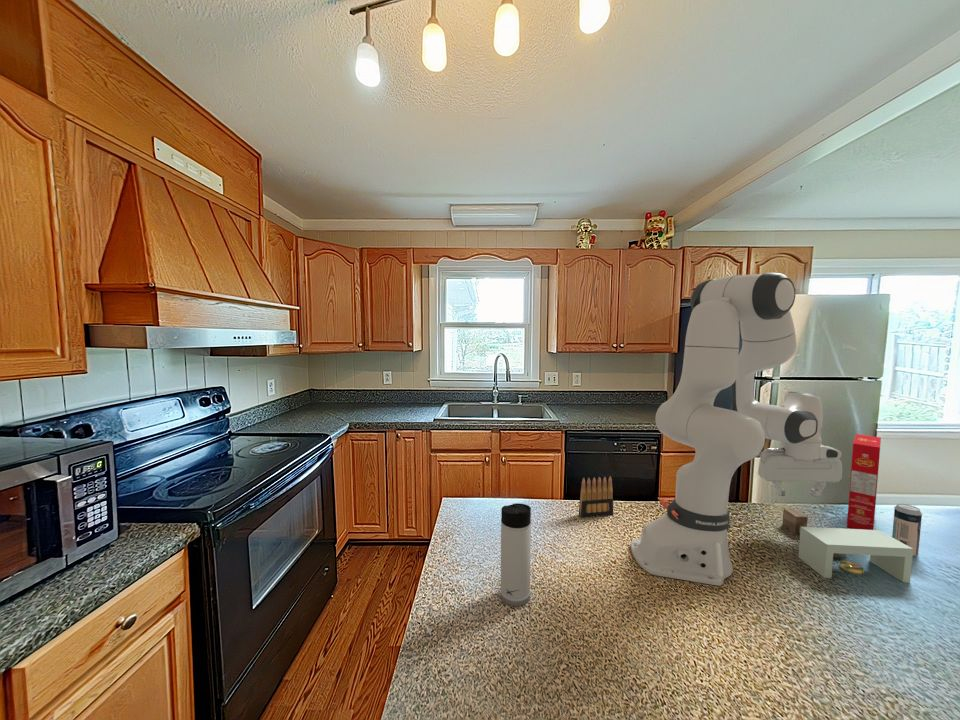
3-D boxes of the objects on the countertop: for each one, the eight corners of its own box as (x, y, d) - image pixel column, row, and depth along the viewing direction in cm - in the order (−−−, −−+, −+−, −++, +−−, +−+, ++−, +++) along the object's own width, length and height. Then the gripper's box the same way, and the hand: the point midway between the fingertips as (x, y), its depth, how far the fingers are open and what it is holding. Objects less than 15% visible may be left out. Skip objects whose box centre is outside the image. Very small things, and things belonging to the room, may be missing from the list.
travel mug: (511, 612, 76) (512, 516, 75) (495, 592, 82) (495, 502, 80) (536, 601, 79) (538, 509, 77) (519, 583, 85) (520, 496, 83)
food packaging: (850, 511, 119) (856, 434, 118) (874, 517, 116) (881, 437, 114) (846, 527, 109) (853, 443, 108) (872, 535, 106) (880, 447, 104)
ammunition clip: (581, 517, 115) (582, 479, 114) (578, 514, 117) (579, 476, 116) (613, 514, 117) (614, 476, 116) (610, 511, 119) (611, 474, 118)
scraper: (820, 556, 95) (822, 537, 95) (777, 524, 111) (778, 507, 111) (846, 557, 95) (848, 538, 94) (798, 525, 111) (799, 508, 110)
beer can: (924, 558, 94) (928, 512, 94) (901, 556, 95) (905, 510, 95) (907, 548, 99) (910, 503, 98) (885, 545, 100) (889, 502, 99)
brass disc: (849, 575, 88) (849, 570, 88) (835, 564, 92) (835, 560, 92) (868, 576, 88) (868, 571, 88) (852, 565, 92) (853, 561, 92)
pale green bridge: (824, 577, 87) (826, 544, 86) (798, 557, 95) (800, 526, 94) (910, 582, 85) (913, 548, 85) (876, 561, 93) (878, 530, 93)
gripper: (768, 451, 105) (766, 499, 106) (848, 452, 103) (845, 501, 104) (754, 444, 111) (752, 490, 112) (829, 445, 109) (826, 491, 110)
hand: (797, 495), depth 108 cm, fingers open, 8 cm apart
